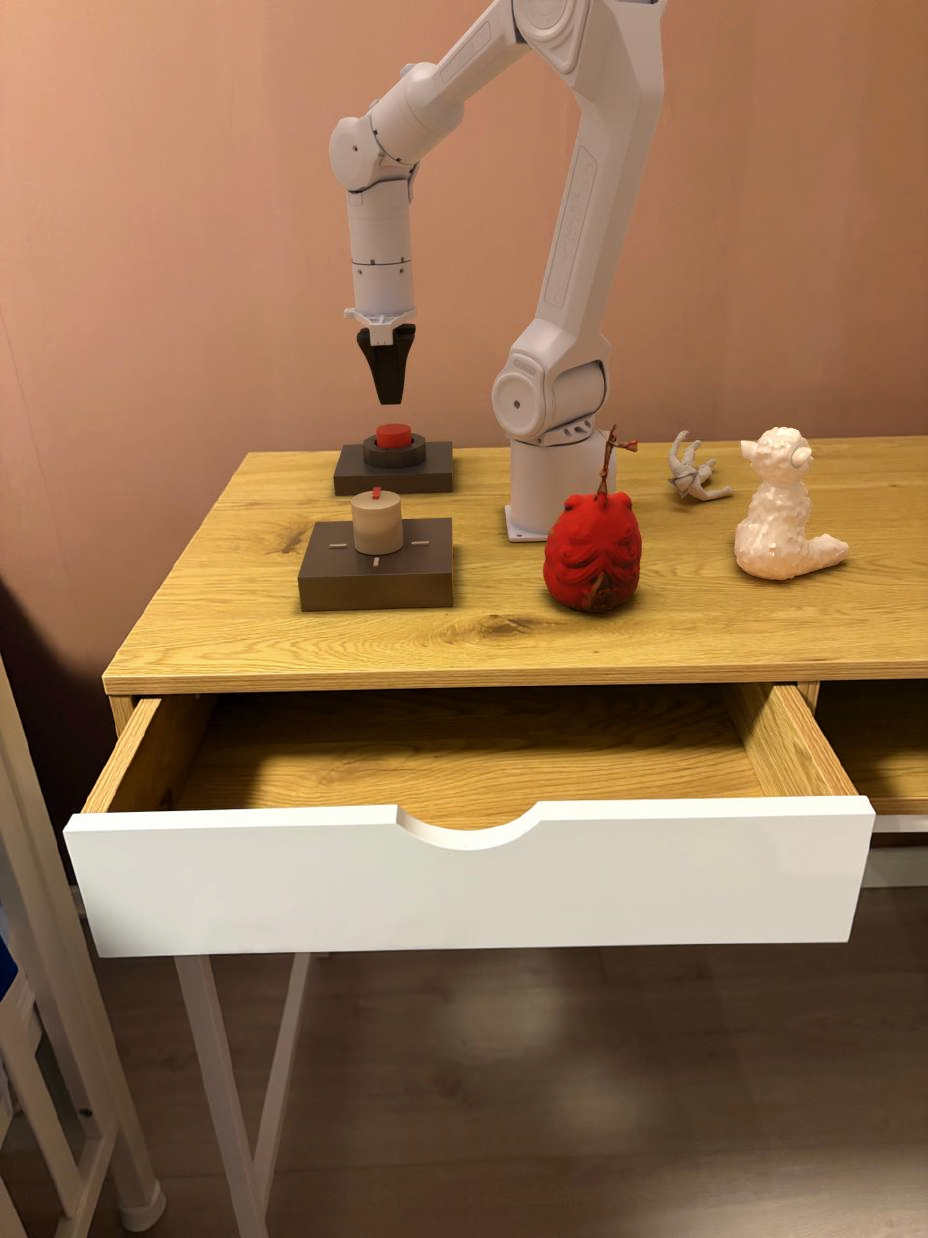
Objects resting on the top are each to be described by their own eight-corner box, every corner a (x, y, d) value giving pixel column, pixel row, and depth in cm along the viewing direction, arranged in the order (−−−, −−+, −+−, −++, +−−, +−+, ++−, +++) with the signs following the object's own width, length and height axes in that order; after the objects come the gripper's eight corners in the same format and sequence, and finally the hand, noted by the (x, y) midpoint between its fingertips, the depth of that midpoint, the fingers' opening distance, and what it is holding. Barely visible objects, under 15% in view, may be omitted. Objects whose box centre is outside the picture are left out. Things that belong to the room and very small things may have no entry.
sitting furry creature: (849, 560, 79) (875, 421, 73) (812, 600, 73) (837, 452, 67) (742, 535, 84) (758, 403, 79) (699, 570, 78) (713, 430, 73)
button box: (452, 460, 104) (451, 424, 102) (452, 493, 96) (451, 455, 94) (345, 463, 104) (341, 428, 102) (335, 496, 96) (331, 459, 94)
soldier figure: (736, 483, 98) (743, 488, 87) (698, 513, 100) (701, 522, 88) (687, 426, 98) (689, 423, 87) (651, 457, 100) (647, 459, 88)
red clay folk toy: (624, 575, 78) (635, 396, 71) (652, 615, 72) (667, 424, 65) (535, 584, 77) (536, 404, 70) (555, 625, 71) (559, 432, 64)
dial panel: (453, 548, 84) (451, 515, 82) (453, 606, 74) (451, 570, 73) (318, 552, 84) (315, 519, 82) (301, 611, 74) (296, 575, 73)
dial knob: (402, 554, 76) (398, 504, 74) (352, 555, 76) (347, 506, 74) (404, 534, 79) (401, 486, 77) (357, 535, 79) (352, 487, 77)
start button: (412, 438, 100) (411, 422, 99) (410, 449, 97) (409, 433, 96) (378, 439, 100) (377, 423, 99) (375, 450, 97) (374, 434, 96)
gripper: (347, 251, 96) (358, 384, 102) (331, 274, 83) (345, 424, 90) (416, 248, 96) (423, 381, 102) (411, 271, 83) (419, 421, 90)
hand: (391, 401), depth 96 cm, fingers closed
